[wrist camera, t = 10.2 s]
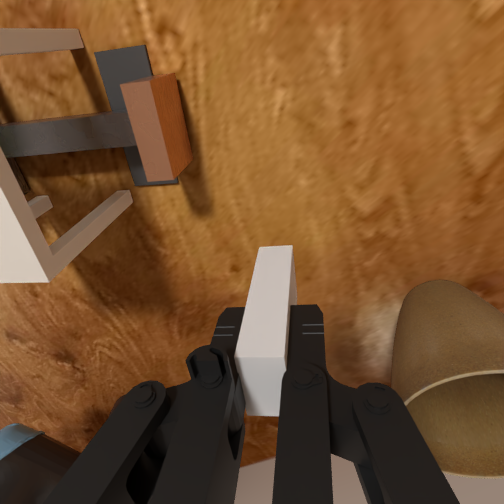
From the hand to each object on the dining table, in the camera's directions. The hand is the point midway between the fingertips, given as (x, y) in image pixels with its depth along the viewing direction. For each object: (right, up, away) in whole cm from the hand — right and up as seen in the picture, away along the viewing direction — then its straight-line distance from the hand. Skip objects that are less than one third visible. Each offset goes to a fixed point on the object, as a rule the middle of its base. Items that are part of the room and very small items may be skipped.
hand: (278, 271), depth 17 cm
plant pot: (+20, -5, +26) cm, 34 cm away
